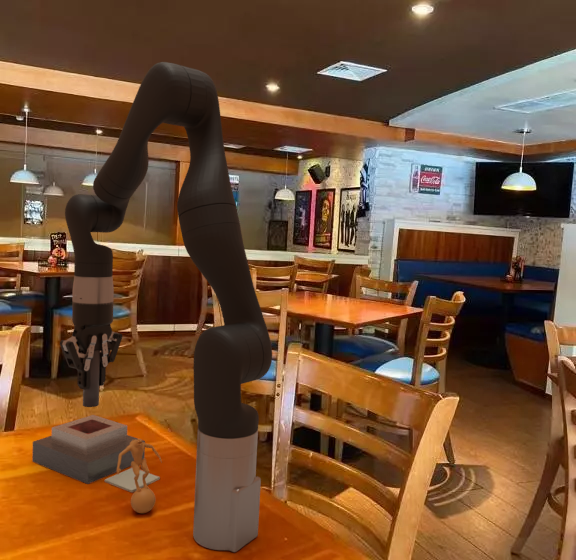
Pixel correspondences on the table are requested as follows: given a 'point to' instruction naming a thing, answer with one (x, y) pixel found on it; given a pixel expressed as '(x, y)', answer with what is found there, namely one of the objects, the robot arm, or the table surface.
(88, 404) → the dark grey cylinder
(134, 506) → the figurine
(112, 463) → the box
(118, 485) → the pad
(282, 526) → the table surface
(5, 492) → the table surface
